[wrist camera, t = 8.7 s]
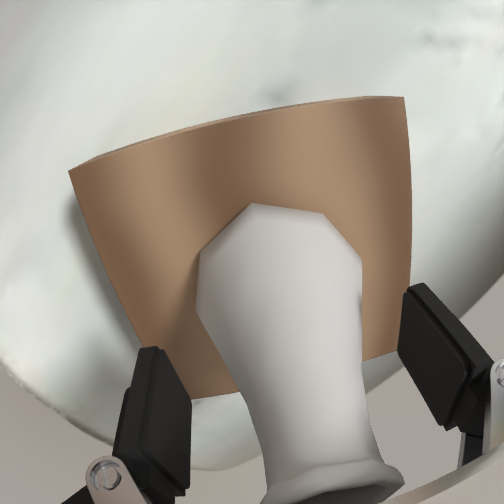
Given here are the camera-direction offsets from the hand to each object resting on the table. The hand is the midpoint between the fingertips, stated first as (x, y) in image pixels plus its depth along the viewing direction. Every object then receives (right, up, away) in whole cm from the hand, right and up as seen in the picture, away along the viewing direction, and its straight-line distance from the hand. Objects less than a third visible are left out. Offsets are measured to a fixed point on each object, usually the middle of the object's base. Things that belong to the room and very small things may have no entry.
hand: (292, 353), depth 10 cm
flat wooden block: (-1, +4, +8) cm, 9 cm away
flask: (0, +2, +4) cm, 5 cm away
